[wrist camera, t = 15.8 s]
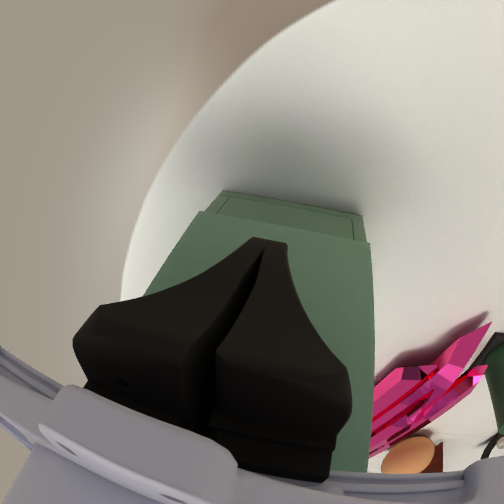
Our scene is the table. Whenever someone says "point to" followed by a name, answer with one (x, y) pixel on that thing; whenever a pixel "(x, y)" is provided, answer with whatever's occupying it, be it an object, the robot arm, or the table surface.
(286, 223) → the green open box
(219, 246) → the lid
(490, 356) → the bottle
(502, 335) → the coaster
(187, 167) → the table surface
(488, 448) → the headphones
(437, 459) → the roof
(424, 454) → the egg
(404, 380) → the crystal
